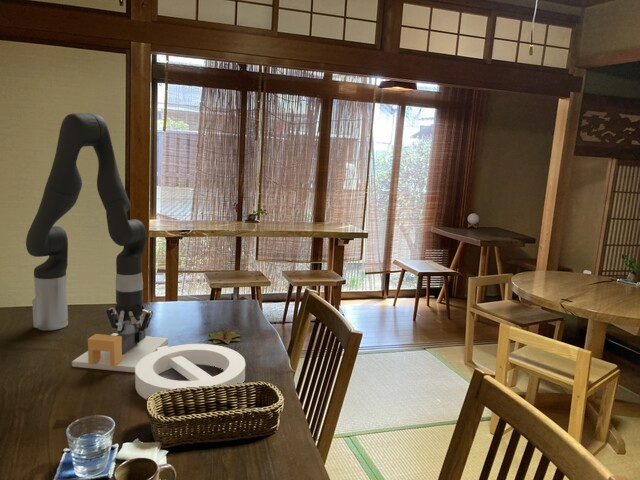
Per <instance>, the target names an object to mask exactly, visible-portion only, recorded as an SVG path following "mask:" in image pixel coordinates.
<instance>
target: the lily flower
mask: <svg viewBox="0 0 640 480" xmlns="http://www.w3.org/2000/svg"><path fill="white" fill-rule="evenodd" d="M217 328H218V329H219V330H218V331H217V333H208V335H209V336H210V337H208V338H207V339H206V340H212V341H213V342H212V343H213V344H212V345H216V344H218V343H225V344H227V345H229V344H230V342H241V340H240V338H238V337H241V334H237V333H236V332H235V331H232V328H231V329H230V326H227V327H226V328H225V329H224V328H222V327H220V326H218V327H217ZM228 329H229V331H228ZM222 338H223V339H222Z"/></svg>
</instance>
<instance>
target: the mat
mask: <svg viewBox="0 0 640 480" xmlns="http://www.w3.org/2000/svg"><path fill="white" fill-rule="evenodd" d="M111 335H115V336H117V335H118V332H117V333H116V332H113V333H112V334H111ZM167 344H169V338H168V337H160V336H149V335H145V338H144V339H143V340H141V341H140V342H139V343H138V344H136V345H135V346H134V347H133V348H131V349H130V350H129V351H128V352H126V353H125V354H124V355H122V361H120V362H119V363H118V364H117V365H115V366H110V352H108V351H101V358H100V359H99V360H98V361H96V362H95V363H94V364H89V363H88V350H87V351H86V352H84V353H82V354H81V355H80V356H77V358H75V359H73V360H72V361H71V365H72V367H73V368H74V367H75V368H84V369H95V370H106V371H116V372H126V373H135V367H136V365H137V363H138V362H139V361H140V360H141V359H142V358H143V357H145V356H146V355H148V354H150V353H152V352H155V351H156V348H159V347H163V346H167Z"/></svg>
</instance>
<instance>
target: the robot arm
mask: <svg viewBox="0 0 640 480" xmlns="http://www.w3.org/2000/svg"><path fill="white" fill-rule="evenodd" d="M108 127H109V126H108V125H107V122H106V120H105V119H104V118H103V116H101V115H100V114H97V113H91V112H90V113H84V112H83V113H82V112H81V113H78V112H77V113H69V114H67V115H66V116H65V117H64V118H63V120H62V122H61V125H60V129H59V134H58V139H57V143H56V144H57V146H56V151H55V155H54V158H53V163H52V165H51V169H50V172H49V175H48V177H47V181H46V183H45V187H44V191H43V194H42V198H41V200H40V204H39V207H38V209H37V212H36V214H35V217H34V219H32V220H33V221H32V223H31V225H30V227H29V229H28V232H27V235H26V241H25V246H26V247H25V248H26V251H27V252H28V254H29V255H30V256H31V257H37V258H38V257H39V258H42V257H48V258H47V259H46V260H45V261H44V262H43V263H41V264H39V265H37V266H36V267H34V269H33V276H34V277H33V279H34V280H33V281H34V298H33V299H31V302H32V322H33V323H32V325H33V328H35V329H37V330H40V331H57V330H60V329H63V328H66V327H67V326H68V324H69V314H68V313H69V312H68V287H67V269H68V264H69V262H68V260H69V259H68V257H69V254H68V253H69V252H68V250H69V241H68V235H67V232H66V230H65V229H64V228H63V227H62V226H58V225H57V226H54V225H55V224H56V223H57V222H58V221H59V220H60V219H61V218H62V217H64V216H65V215H66V214H68V212H69V211H71V209H73V207H74V206H75V205H76V203H77V201H78V199H79V196H80V193H81V190H82V187H83V182H82V181H83V180H82V177H81V174H80V171H79V169H78V166H77V161H78V157H79V154H80V151H81V150H82V148H84V147H92V149H93V150H94V152H95V154H96V157H97V161H98V168H97V169H98V170H97V177H96V187H97V192H98V195H99V198H100V201H101V203H102V205H103V208H104V209H105V215H106V223H107V230H108V233H109V234H108V235H109V236H110V238H111V240H112V241H113V242H114V244H115V245H118V246H120V247H123V248H122V251H121V252H119V253H118V254H117V255H116V258H115V259H116V260H115V268H116V270H115V272H116V273H115V274H116V276H115V302H116V305H115V307H110V308H108V309H107V310H106V312H105V313H106V314H107V317H108V321H109V324H110V325H111V328H112V329H116V330H117V334H120V333H121V332H123V331H124V330H126V329H127V328H126V325H127V322H129V321H130V322H131V325H133V326H134V329H135V332H134V333H135V344H138V343H139V342H140V341H141V340H142V331H144V330H145V331H146V330H147V329H148V328H149V326H150V323H151V320H152V317H153V314H154V312H153V310H148V309H145V307H144V279H143V278H144V277H143V272H142V271H143V261H142V260H143V259H142V258H143V255H144V251H145V248H146V247H145V246H146V241H147V230H146V227H145V224H144V223H143V222H142V221H140V220H139V219H135V218H134V219H128V215H127V212H128V211H130V210H131V208H132V207H131V206H132V205H131V201H130V199H129V197H128V196H129V195H128V194H127V191H126V189H125V187H124V185H123V182H122V178H121V176H120V173H119V169H118V165H117V161H116V156H115V151H114V148H113V147H114V146H113V142H112V139H111V135H110V131H109V128H108ZM141 315H143V318H144V319H143V320H142V317H141ZM118 316H119V318H118Z"/></svg>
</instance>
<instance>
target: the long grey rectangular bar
mask: <svg viewBox="0 0 640 480" xmlns="http://www.w3.org/2000/svg"><path fill="white" fill-rule="evenodd" d="M125 329H126V330H124V331H123V332H121V333H120V334H118V333H117V334H118V335H117V336H122V355H124V354H125V353H126V352H128V351H129V350H130V349H131V348H133V347H134V346H135V345H136V344H135V333H134V332H135V329H134V326H133V325H132V324H131V325H130V326H128V327H127V328H125ZM145 336H146V329H145V330H144V331H142V340H143V339H144V338H145Z"/></svg>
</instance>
